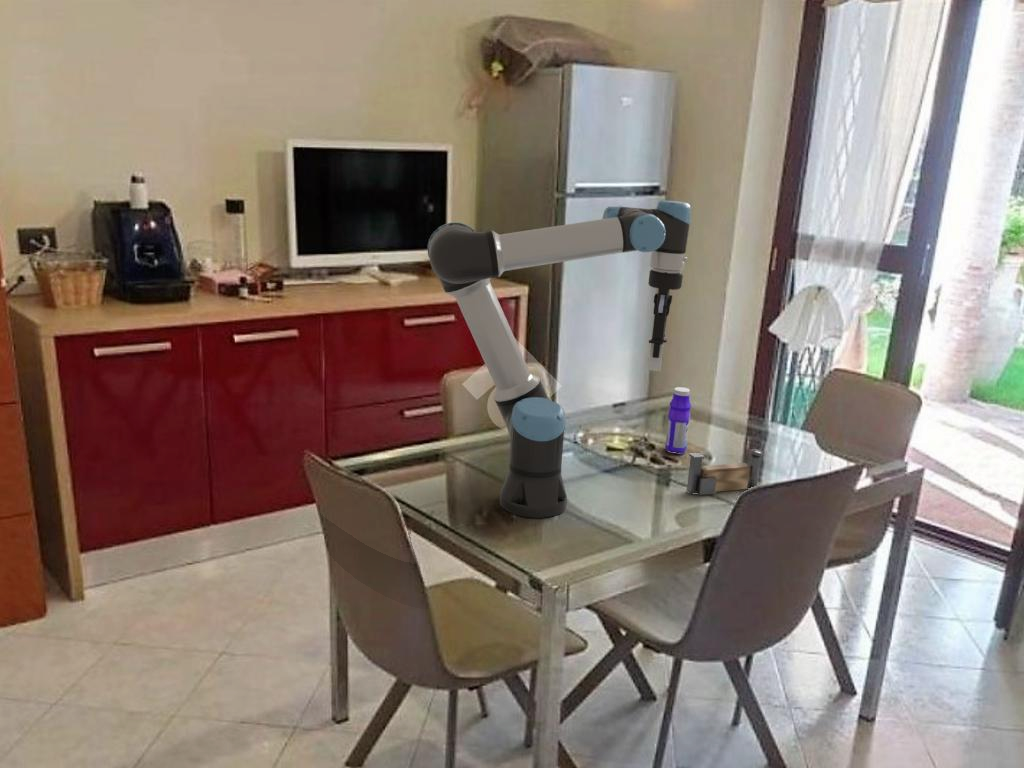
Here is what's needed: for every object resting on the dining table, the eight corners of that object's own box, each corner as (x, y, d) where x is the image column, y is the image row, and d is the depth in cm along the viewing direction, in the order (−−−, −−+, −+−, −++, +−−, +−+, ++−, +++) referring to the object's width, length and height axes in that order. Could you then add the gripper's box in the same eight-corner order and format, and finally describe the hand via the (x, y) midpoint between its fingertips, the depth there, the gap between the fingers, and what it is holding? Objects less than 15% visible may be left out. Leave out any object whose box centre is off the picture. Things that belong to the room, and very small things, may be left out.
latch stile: (692, 497, 210) (697, 459, 207) (684, 490, 213) (689, 453, 211) (714, 495, 211) (719, 457, 209) (706, 489, 215) (711, 451, 212)
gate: (741, 485, 217) (744, 462, 216) (747, 488, 215) (750, 466, 214) (696, 489, 213) (698, 466, 212) (701, 493, 211) (703, 470, 209)
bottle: (685, 456, 236) (693, 393, 231) (664, 454, 237) (670, 391, 232) (686, 447, 243) (693, 386, 238) (665, 445, 244) (671, 384, 239)
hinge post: (749, 491, 215) (754, 454, 212) (742, 486, 218) (747, 449, 215) (760, 490, 216) (765, 453, 213) (753, 485, 219) (758, 448, 216)
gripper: (681, 276, 196) (668, 378, 202) (684, 268, 208) (671, 365, 215) (647, 272, 197) (635, 374, 204) (652, 264, 210) (640, 361, 216)
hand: (654, 369), depth 209 cm, fingers closed
